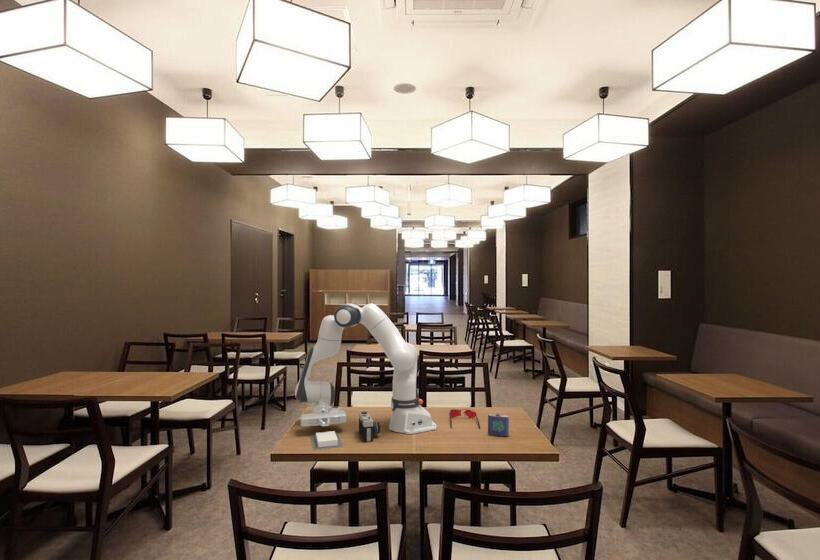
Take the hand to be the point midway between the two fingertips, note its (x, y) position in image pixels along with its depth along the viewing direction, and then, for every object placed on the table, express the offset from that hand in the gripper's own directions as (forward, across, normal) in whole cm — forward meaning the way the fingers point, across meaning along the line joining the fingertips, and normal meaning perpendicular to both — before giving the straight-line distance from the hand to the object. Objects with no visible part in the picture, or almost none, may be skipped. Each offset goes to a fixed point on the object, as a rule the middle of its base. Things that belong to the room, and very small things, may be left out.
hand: (325, 424), depth 188 cm
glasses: (-4, +67, +7) cm, 68 cm away
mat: (+3, 0, +6) cm, 7 cm away
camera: (+2, +19, +7) cm, 20 cm away
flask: (+16, +75, +7) cm, 77 cm away
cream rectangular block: (-1, 0, +5) cm, 5 cm away
